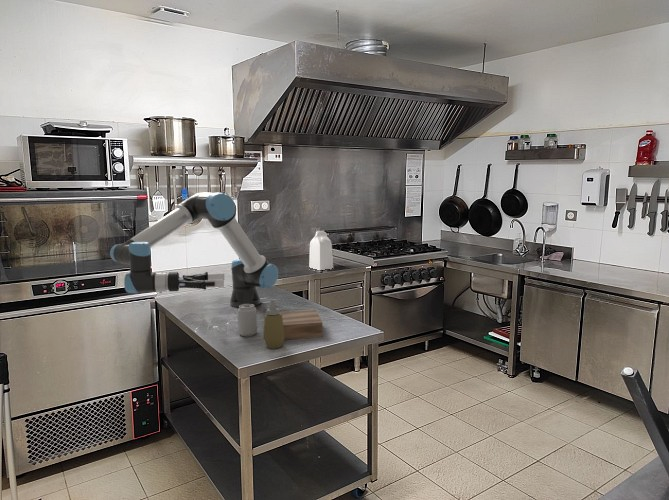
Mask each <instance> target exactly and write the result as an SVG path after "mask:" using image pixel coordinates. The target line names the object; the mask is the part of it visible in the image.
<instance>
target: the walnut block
mask: <svg viewBox="0 0 669 500" xmlns="http://www.w3.org/2000/svg"><path fill="white" fill-rule="evenodd" d="M279 314H281V315H282V320H283V327H284V334H285V338H284V341H288V340H297V339H298V340H299V339H310V338H311V339H312V338H323V336H324V335H323V321H322V319H321V317H320V315H319V313H318V311H317V310H316V309H308V310H297V311H295V310H294V311H293V310H292V311H279Z"/></svg>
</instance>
